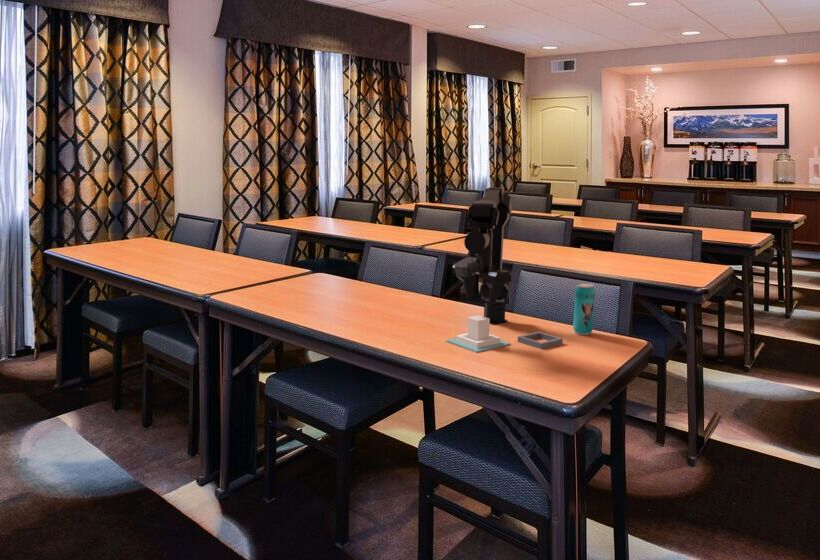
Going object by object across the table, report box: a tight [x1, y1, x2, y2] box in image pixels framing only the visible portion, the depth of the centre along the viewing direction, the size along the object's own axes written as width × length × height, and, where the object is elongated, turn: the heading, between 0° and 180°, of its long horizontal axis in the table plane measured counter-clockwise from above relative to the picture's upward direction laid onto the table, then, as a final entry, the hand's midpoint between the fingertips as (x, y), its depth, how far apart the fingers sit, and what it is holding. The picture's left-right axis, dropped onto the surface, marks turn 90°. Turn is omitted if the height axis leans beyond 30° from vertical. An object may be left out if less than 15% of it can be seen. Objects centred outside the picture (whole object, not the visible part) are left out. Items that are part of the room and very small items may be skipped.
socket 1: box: [445, 332, 511, 354], centre depth 178 cm, size 13×13×2 cm
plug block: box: [466, 314, 491, 342], centre depth 178 cm, size 4×5×7 cm
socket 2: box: [517, 331, 564, 350], centre depth 179 cm, size 9×9×2 cm
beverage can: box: [572, 282, 596, 336], centre depth 188 cm, size 6×6×15 cm
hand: (480, 302), depth 177 cm, fingers open, 9 cm apart
